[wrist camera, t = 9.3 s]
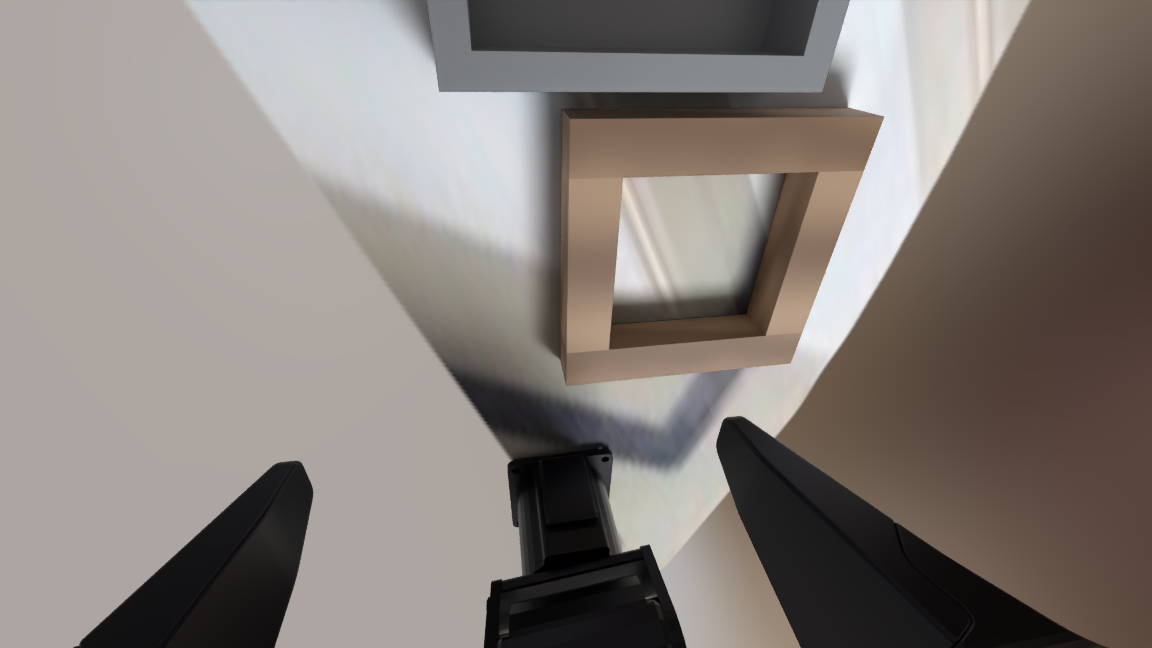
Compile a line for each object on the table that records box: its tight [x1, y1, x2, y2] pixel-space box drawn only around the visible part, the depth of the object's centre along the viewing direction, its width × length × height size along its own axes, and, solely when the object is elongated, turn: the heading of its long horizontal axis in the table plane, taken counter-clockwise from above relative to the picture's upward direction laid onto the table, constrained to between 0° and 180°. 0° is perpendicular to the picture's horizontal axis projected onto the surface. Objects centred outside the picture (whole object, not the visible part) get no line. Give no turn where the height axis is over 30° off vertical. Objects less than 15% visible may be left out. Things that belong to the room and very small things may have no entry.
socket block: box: [560, 108, 884, 386], centre depth 20 cm, size 12×12×2 cm
